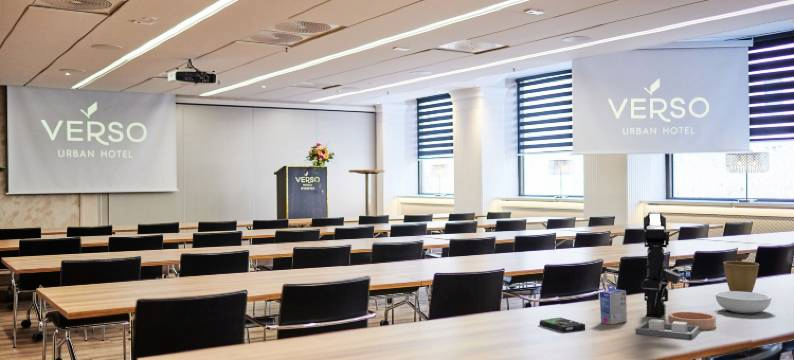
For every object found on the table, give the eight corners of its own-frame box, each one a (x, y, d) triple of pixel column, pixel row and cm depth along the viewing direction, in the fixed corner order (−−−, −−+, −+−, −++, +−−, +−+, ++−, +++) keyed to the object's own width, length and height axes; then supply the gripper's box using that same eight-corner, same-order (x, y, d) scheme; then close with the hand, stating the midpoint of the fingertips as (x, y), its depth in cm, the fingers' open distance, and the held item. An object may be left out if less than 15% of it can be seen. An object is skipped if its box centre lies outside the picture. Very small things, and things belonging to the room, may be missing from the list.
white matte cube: (648, 332, 263) (648, 321, 263) (651, 330, 267) (651, 319, 267) (661, 333, 261) (661, 322, 261) (664, 331, 264) (663, 320, 264)
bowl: (664, 326, 272) (664, 317, 272) (674, 319, 285) (673, 310, 285) (711, 331, 263) (711, 321, 263) (718, 323, 277) (718, 314, 277)
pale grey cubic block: (671, 334, 259) (671, 323, 259) (674, 332, 262) (674, 321, 262) (684, 335, 256) (684, 324, 256) (687, 333, 260) (687, 322, 260)
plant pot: (720, 298, 332) (720, 263, 332) (727, 294, 344) (726, 260, 344) (756, 301, 324) (756, 265, 324) (761, 296, 336) (761, 262, 336)
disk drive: (586, 331, 268) (560, 324, 281) (586, 324, 268) (560, 316, 281) (563, 334, 263) (538, 326, 277) (563, 326, 263) (538, 319, 277)
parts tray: (635, 333, 260) (635, 328, 260) (645, 326, 273) (645, 321, 273) (692, 339, 250) (691, 334, 250) (699, 331, 263) (699, 326, 263)
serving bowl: (716, 314, 294) (716, 297, 294) (714, 306, 314) (714, 290, 314) (773, 317, 287) (773, 300, 287) (768, 308, 306) (768, 292, 306)
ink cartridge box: (616, 319, 286) (615, 283, 286) (627, 321, 281) (627, 284, 281) (599, 322, 280) (599, 285, 280) (610, 325, 276) (610, 287, 276)
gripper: (673, 266, 251) (674, 311, 252) (684, 260, 267) (684, 302, 267) (640, 264, 257) (641, 308, 257) (653, 259, 273) (653, 300, 273)
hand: (656, 305), depth 264 cm, fingers open, 9 cm apart
